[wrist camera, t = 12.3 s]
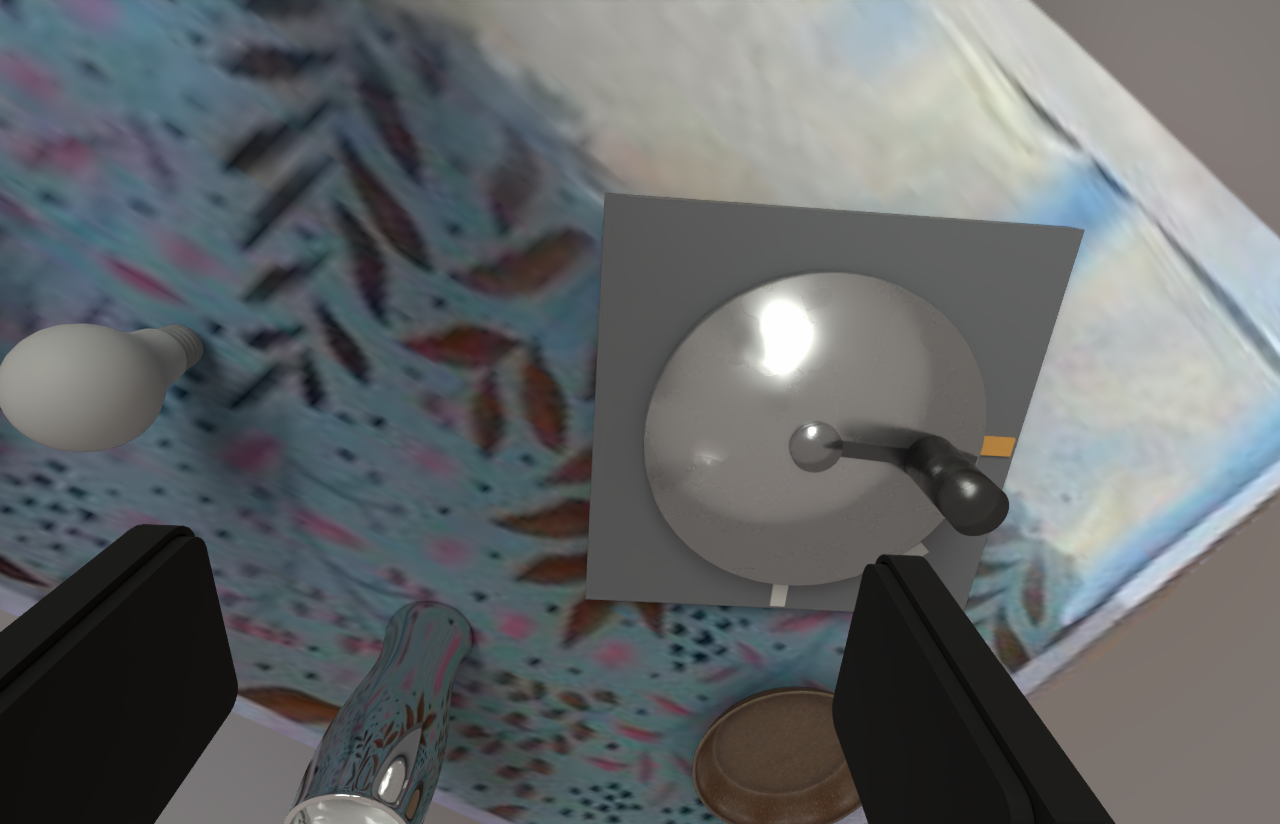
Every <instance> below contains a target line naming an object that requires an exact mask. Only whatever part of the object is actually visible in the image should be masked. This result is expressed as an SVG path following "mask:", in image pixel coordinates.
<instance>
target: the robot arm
mask: <svg viewBox="0 0 1280 824" xmlns="http://www.w3.org/2000/svg"><path fill="white" fill-rule="evenodd" d="M237 692H238V683H237V678H236V673H235V669H234V665H233V660H232V656H231V652H230V647H229V643H228V639H227V634H226V630H225V626H224V621H223V617H222V613H221V608H220V604H219V600H218V595H217V591H216V587H215V582H214V578H213V574H212V569H211V565H210V561H209V556H208V552H207V547H206V545H205V542H204V541H203V540H202V539H201V538H199V537H195V535H194V533H193V531H192V530H191V529H190V528H188V527H185V526H175V525H150V524H142V525H137V526H135V527H133V528H131V529H130V530H129V531H127V532H126V533H125V534H124V535H122V536H121V537H120V538H118V539H117V540H116V541H115V542H113V543H112V544H111V545H110V546H108V547H107V548H106V549H105V550H103V551H102V552H101V553H100V554H98V555H97V556H96V557H95V558H93V559H92V560H91V561H89V562H88V563H87V564H86V565H84V566H83V567H82V568H81V569H79V570H78V571H77V572H76V573H74V574H73V575H72V576H71V577H69V578H68V579H67V580H66V581H64V582H63V583H62V584H60V585H59V586H58V587H57V588H55V589H54V590H53V591H52V592H50V593H49V594H48V595H47V596H45V597H44V598H43V599H42V600H40V601H39V602H38V603H37V604H35V605H34V606H33V607H31V608H30V609H29V610H28V611H26V612H25V613H24V614H23V615H21V616H20V617H19V618H18V619H17V620H15V621H14V622H13V623H11V624H10V625H9V626H8V627H6V628H5V629H4V630H3V631H1V632H0V824H154V823H155V821H156V820H157V819H158V817H159V816H160V814H161V813H162V811H163V810H164V808H165V807H166V805H167V804H168V802H169V801H170V800H171V798H172V797H173V795H174V794H175V792H176V791H177V789H178V788H179V786H180V785H181V784H182V782H183V781H184V779H185V778H186V776H187V775H188V773H189V772H190V770H191V769H192V767H193V766H194V764H195V763H196V762H197V760H198V758H199V757H200V756H201V754H202V753H203V751H204V750H205V749H206V747H207V745H208V744H209V743H210V741H211V740H212V738H213V737H214V735H215V734H216V732H217V731H218V730H219V728H220V727H221V725H222V724H223V722H224V721H225V719H226V718H227V716H228V715H229V713H230V712H231V710H232V708H233V706H234V704H235V701H236V697H237ZM832 717H833V723H834V727H835V731H836V734H837V736H838V739H839V742H840V745H841V748H842V750H843V753H844V756H845V759H846V762H847V765H848V767H849V770H850V773H851V776H852V779H853V781H854V784H855V787H856V790H857V793H858V796H859V798H860V801H861V804H862V807H863V810H864V812H865V815H866V818H867V821H868V824H1115V822H1114V821H1113V820H1112V818H1111V817H1110V816H1109V814H1108V813H1107V811H1106V810H1105V808H1104V807H1103V806H1102V804H1101V803H1100V801H1099V800H1098V799H1097V797H1096V796H1095V794H1094V793H1093V792H1092V790H1091V789H1090V787H1089V786H1088V785H1087V783H1086V782H1085V781H1084V779H1083V778H1082V776H1081V775H1080V773H1079V772H1078V771H1077V769H1076V768H1075V767H1074V765H1073V764H1072V762H1071V761H1070V759H1069V758H1068V757H1067V755H1066V754H1065V752H1064V751H1063V750H1062V749H1061V747H1060V745H1059V744H1058V743H1057V741H1056V740H1055V738H1054V737H1053V736H1052V734H1051V733H1050V731H1049V730H1048V729H1047V727H1046V726H1045V724H1044V723H1043V722H1042V720H1041V719H1040V717H1039V716H1038V715H1037V713H1036V712H1035V711H1034V709H1033V708H1032V706H1031V705H1030V703H1029V702H1028V701H1027V699H1026V698H1025V696H1024V695H1023V694H1022V692H1021V691H1020V689H1019V688H1018V687H1017V685H1016V684H1015V682H1014V681H1013V680H1012V678H1011V677H1010V675H1009V674H1008V673H1007V671H1006V670H1005V668H1004V667H1003V666H1002V664H1001V663H1000V662H999V660H998V659H997V658H996V656H995V655H994V653H993V652H992V651H991V649H990V648H989V646H988V645H987V644H986V642H985V641H984V639H983V638H982V637H981V635H980V634H979V632H978V631H977V630H976V628H975V627H974V625H973V624H972V623H971V621H970V620H969V618H968V617H967V616H966V614H965V613H964V611H963V610H962V609H961V607H960V606H959V604H958V603H957V602H956V600H955V599H954V597H953V596H952V595H951V593H950V592H949V590H948V589H947V588H946V586H945V585H944V583H943V582H942V581H941V579H940V578H939V576H938V575H937V574H936V572H935V571H934V569H933V568H932V567H931V565H930V564H929V562H928V561H927V560H926V559H925V558H924V557H922V556H917V555H892V554H882V555H880V556H879V557H878V559H877V560H876V563H875V564H867V565H866V567H865V568H864V571H863V574H862V579H861V583H860V587H859V591H858V596H857V600H856V604H855V608H854V613H853V617H852V621H851V625H850V630H849V634H848V638H847V642H846V647H845V651H844V655H843V659H842V663H841V668H840V672H839V676H838V680H837V685H836V689H835V693H834V697H833V703H832Z"/></svg>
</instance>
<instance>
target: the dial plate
mask: <svg viewBox="0 0 1280 824" xmlns="http://www.w3.org/2000/svg"><path fill="white" fill-rule="evenodd" d="M1083 233H1084V230H1083V229H1078V228H1072V227H1066V226H1052V225H1038V224H1025V223H1011V222H997V221H983V220H970V219H956V218H942V217H929V216H915V215H901V214H887V213H874V212H860V211H846V210H833V209H819V208H805V207H792V206H778V205H764V204H750V203H737V202H723V201H709V200H696V199H682V198H668V197H654V196H641V195H627V194H613V193H605V201H604V222H603V243H602V264H601V285H600V306H599V327H598V348H597V369H596V390H595V411H594V431H593V452H592V473H591V494H590V515H589V536H588V557H587V578H586V599H595V600H616V601H638V602H659V603H680V604H701V605H723V606H744V607H765V608H786V609H808V610H829V611H850V612H854V608H855V604H856V600H857V596H858V591H859V587H860V583H861V579H862V574H861V575H859V576H855V577H851V578H848V579H844V580H841V581H836V582H830V583H824V584H818V585H802V586H793V585H776V584H770V583H764V582H758V581H754V580H751V579H747V578H744V577H740V576H738V575H735V574H733V573H730V572H728V571H726V570H723V569H721V568H719V567H718V566H716V565H714V564H712V563H711V562H709V561H707V560H705V559H704V558H703V557H701V556H700V555H699V554H697V553H696V552H695V551H693V550H692V549H691V548H690V547H689V546H688V545H687V544H686V543H685V542H684V541H683V540H682V539H681V538H680V537H679V536H678V535H677V534H676V533H675V532H674V530H673V529H672V528H671V526H670V525H669V524H668V522H667V521H666V520H665V518H664V516H663V514H662V513H661V511H660V509H659V507H658V505H657V504H656V501H655V499H654V496H653V493H652V491H651V488H650V485H649V481H648V476H647V472H646V467H645V455H644V438H643V437H644V424H645V415H646V411H647V406H648V402H649V397H650V394H651V392H652V389H653V386H654V384H655V381H656V378H657V376H658V374H659V372H660V370H661V369H662V367H663V365H664V363H665V361H666V359H667V357H668V356H669V355H670V353H671V352H672V350H673V349H674V348H675V346H676V345H677V343H678V342H679V341H680V339H681V338H682V337H683V336H684V335H685V334H686V333H687V332H688V331H689V330H690V329H691V327H692V326H693V325H694V324H695V323H696V322H697V321H698V320H700V319H701V318H702V317H703V316H704V315H706V314H707V313H708V312H709V311H711V310H712V309H713V308H714V307H716V306H717V305H719V304H720V303H722V302H723V301H725V300H726V299H728V298H730V297H731V296H733V295H734V294H736V293H738V292H740V291H742V290H745V289H747V288H749V287H751V286H753V285H755V284H757V283H760V282H763V281H766V280H769V279H772V278H775V277H778V276H782V275H787V274H793V273H798V272H803V271H816V270H839V271H852V272H857V273H862V274H866V275H871V276H875V277H878V278H881V279H883V280H886V281H889V282H892V283H894V284H897V285H899V286H900V287H902V288H904V289H906V290H908V291H910V292H912V293H914V294H915V295H917V296H919V297H921V298H923V299H924V300H926V301H927V302H928V303H930V304H931V305H932V306H934V307H935V308H936V309H938V310H939V311H940V312H942V313H943V314H944V316H945V317H946V318H947V319H948V320H949V321H950V322H951V323H952V324H953V325H954V326H955V327H956V328H957V329H958V331H959V332H960V334H961V335H962V337H963V338H964V339H965V341H966V342H967V344H968V345H969V347H970V349H971V351H972V353H973V355H974V358H975V360H976V362H977V364H978V367H979V370H980V374H981V377H982V380H983V383H984V390H985V398H986V429H985V436H984V442H983V447H982V450H981V453H980V457H979V460H978V464H977V466H976V467H977V468H978V469H979V470H980V471H981V472H983V473H984V474H985V475H986V476H987V477H988V478H989V479H990V480H991V481H992V482H993V483H994V484H996V485H997V486H998V487H999V488H1000V489H1001V490H1002V489H1003V486H1004V483H1005V479H1006V476H1007V473H1008V470H1009V467H1010V464H1011V460H1012V457H1013V454H1014V451H1015V448H1016V445H1017V442H1018V438H1019V435H1020V432H1021V429H1022V426H1023V423H1024V420H1025V416H1026V413H1027V410H1028V407H1029V404H1030V401H1031V397H1032V394H1033V391H1034V388H1035V385H1036V382H1037V379H1038V375H1039V372H1040V369H1041V366H1042V363H1043V360H1044V356H1045V353H1046V350H1047V347H1048V344H1049V341H1050V338H1051V334H1052V331H1053V328H1054V325H1055V322H1056V319H1057V315H1058V312H1059V309H1060V306H1061V303H1062V300H1063V297H1064V293H1065V290H1066V287H1067V284H1068V281H1069V278H1070V274H1071V271H1072V268H1073V265H1074V262H1075V259H1076V256H1077V252H1078V249H1079V246H1080V243H1081V240H1082V237H1083ZM987 536H988V533H987V534H984V535H980V536H966V535H963V534H961V533H959V532H957V531H956V530H955V529H954V528H953V527H952V525H951V524H950V523H949V522H948V521H947V520H946V518H945V519H944V520H943V521H942V522H941V523H940V524H939V525H938V526H937V527H936V528H935V529H934V530H933V531H932V532H931V533H930V534H929V535H928V536H926V537H925V538H924V539H923V540H922V541H920V542H919V543H918V544H917V545H916V546H914V547H913V548H911V549H910V550H908V551H907V552H905V553H904V554H902V555H917V556H922V557H924V558H925V559H926V560H927V561H928V562H929V564H930V565H931V567H932V568H933V569H934V571H935V572H936V574H937V575H938V576H939V578H940V579H941V581H942V582H943V583H944V585H945V586H946V588H947V589H948V590H949V592H950V593H951V595H952V596H953V597H954V599H955V600H956V602H957V603H958V604H959V606H960V607H961V609H962V610H963V611H964V609H965V606H966V602H967V599H968V596H969V593H970V590H971V587H972V583H973V580H974V577H975V574H976V571H977V568H978V565H979V561H980V558H981V555H982V552H983V549H984V546H985V542H986V539H987Z"/></svg>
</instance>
